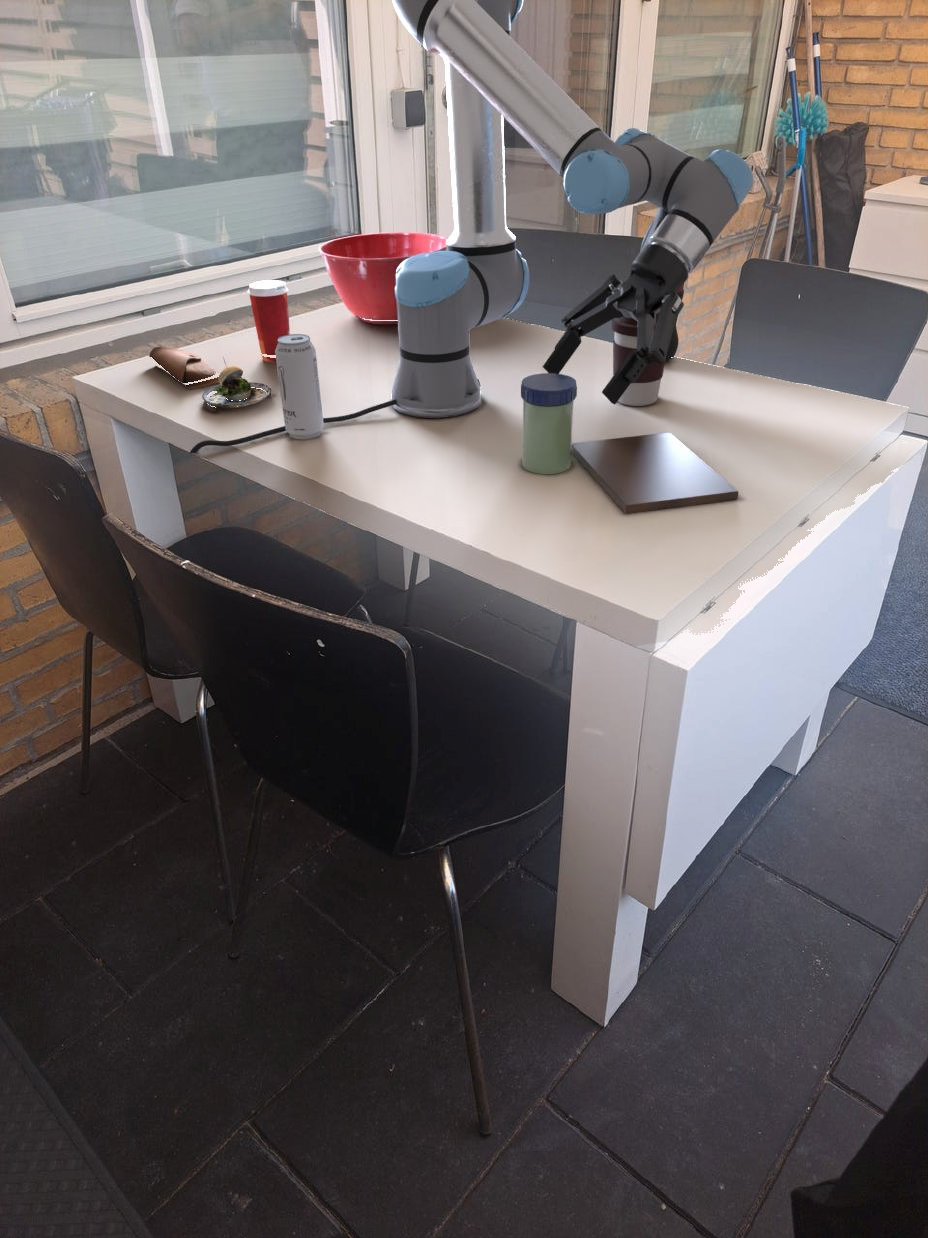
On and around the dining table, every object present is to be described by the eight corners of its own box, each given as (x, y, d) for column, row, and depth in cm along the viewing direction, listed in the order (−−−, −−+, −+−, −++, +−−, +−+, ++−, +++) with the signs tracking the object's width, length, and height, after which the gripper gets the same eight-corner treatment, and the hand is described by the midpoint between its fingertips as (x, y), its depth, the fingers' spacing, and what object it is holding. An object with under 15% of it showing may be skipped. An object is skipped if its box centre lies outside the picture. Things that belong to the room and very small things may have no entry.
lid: (530, 408, 121) (530, 393, 120) (514, 390, 128) (514, 375, 126) (584, 402, 123) (584, 387, 122) (565, 385, 129) (566, 370, 128)
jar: (530, 476, 127) (532, 395, 121) (516, 457, 133) (517, 379, 126) (577, 471, 128) (581, 390, 122) (561, 452, 134) (564, 375, 128)
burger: (209, 418, 149) (201, 374, 145) (197, 397, 158) (189, 354, 154) (280, 407, 153) (274, 364, 149) (264, 387, 162) (259, 345, 158)
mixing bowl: (309, 332, 191) (300, 255, 183) (346, 299, 215) (339, 229, 206) (439, 336, 187) (436, 257, 179) (462, 301, 211) (460, 231, 202)
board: (625, 513, 117) (626, 505, 116) (569, 450, 135) (570, 443, 134) (737, 499, 120) (739, 491, 119) (668, 439, 138) (669, 431, 137)
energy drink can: (282, 430, 144) (269, 336, 136) (318, 424, 146) (308, 330, 138) (291, 443, 139) (278, 346, 131) (329, 436, 141) (318, 340, 133)
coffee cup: (671, 394, 155) (681, 304, 147) (656, 413, 147) (666, 319, 139) (616, 387, 158) (622, 299, 150) (598, 405, 151) (604, 314, 143)
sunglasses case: (228, 378, 165) (205, 350, 160) (201, 404, 164) (177, 377, 159) (191, 355, 177) (168, 329, 172) (165, 380, 176) (142, 354, 171)
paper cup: (304, 355, 177) (296, 281, 170) (278, 366, 172) (268, 290, 164) (275, 350, 181) (265, 277, 173) (248, 360, 176) (237, 285, 168)
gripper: (746, 293, 119) (649, 425, 120) (623, 261, 137) (540, 376, 138) (722, 256, 113) (621, 394, 115) (597, 228, 131) (512, 348, 133)
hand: (577, 385), depth 127 cm, fingers open, 13 cm apart
